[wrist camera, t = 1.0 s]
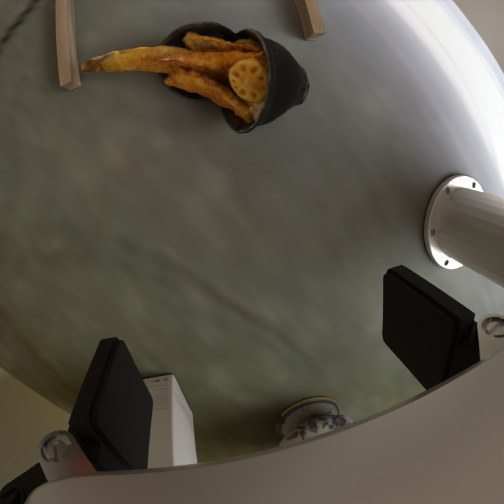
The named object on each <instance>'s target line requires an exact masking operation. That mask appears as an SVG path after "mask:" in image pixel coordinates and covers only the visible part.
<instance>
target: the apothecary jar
mask: <svg viewBox="0 0 504 504" xmlns="http://www.w3.org/2000/svg"><path fill="white" fill-rule="evenodd" d="M339 412H340V408H339V405H338V403H337V402H336V401H335V400H333V399H331V398H328V397H313V398H308V399H305V400H302V401H299V402H297V403H295V404H293V405H292V406H290V407H289V408H287V409H286V410H285V411H284V412H283V413H282V414H281V420H280V421H279V422H277V423H276V430H277V433H278V434H279V435H280V436H282V437H284V438H283V439H282V440H281V442H280V443H279V445H278V447H279V446H283V445H287V444H290V443H294V442H297V441H301V440H304V439H307V438H310V437H314V436H317V435H320V434H323V433H326V432H329V431H332V430H335V429H338V428H340V427H343V426H346V425H349V424H351V423H354V422H356V421H355V420H353V419H352V418H350V417H348V416H344V415H339Z"/></svg>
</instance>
